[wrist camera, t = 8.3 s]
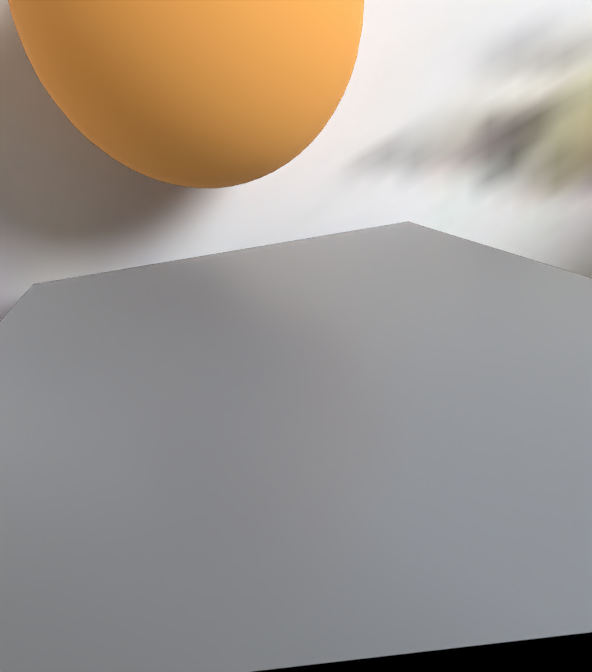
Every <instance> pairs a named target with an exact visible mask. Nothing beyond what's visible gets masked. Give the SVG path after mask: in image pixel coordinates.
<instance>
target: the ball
mask: <svg viewBox="0 0 592 672" xmlns="http://www.w3.org/2000/svg"><path fill="white" fill-rule="evenodd" d="M8 2H9V6H10V11H11V15H12V18H13V21H14V24H15V26H16V29H17V32H18V34H19V37H20V40H21V43H22V45H23V47H24V50H25V52H26V54H27V56H28V58H29V60H30V62H31V64H32V66H33V68H34V70H35V72H36V74H37V76H38V78H39V80H40V81H41V83H42V84H43V86H44V87H45V89H46V90H47V92H48V93H49V95H50V96H51V98H52V99H53V101H54V102H55V103H56V104H57V106H58V107H59V108H60V109H61V111H62V112H63V113H64V114H65V115H66V117H67V118H68V119H69V120H70V121H71V123H72V124H73V125H74V126H75V127H76V128H77V129H78V130H79V131H80V132H81V133H82V134H83V135H84V136H85V137H86V138H87V139H88V140H89V141H91V142H92V143H93V144H95V145H96V146H97V147H98V148H100V149H101V150H102V151H104V152H105V153H106V154H108V155H109V156H111V157H112V158H113V159H115V160H117V161H118V162H120V163H122V164H123V165H125V166H127V167H128V168H130V169H132V170H134V171H136V172H138V173H141V174H143V175H145V176H147V177H150V178H153V179H156V180H159V181H162V182H166V183H170V184H175V185H179V186H184V187H193V188H221V187H229V186H234V185H239V184H243V183H247V182H250V181H253V180H255V179H258V178H261V177H263V176H265V175H267V174H269V173H272V172H274V171H275V170H277V169H279V168H280V167H282V166H284V165H285V164H287V163H288V162H290V161H291V160H292V159H293V158H295V157H296V156H297V155H299V154H300V153H301V152H302V151H303V150H304V149H305V148H306V147H307V146H308V145H309V144H310V143H311V142H312V141H313V140H314V139H315V138H316V137H317V135H318V134H319V133H320V132H321V131H322V129H323V128H324V127H325V125H326V124H327V122H328V121H329V119H330V118H331V116H332V115H333V113H334V111H335V109H336V107H337V106H338V104H339V102H340V100H341V98H342V96H343V95H344V92H345V90H346V87H347V85H348V82H349V80H350V78H351V75H352V71H353V68H354V65H355V61H356V58H357V53H358V47H359V42H360V36H361V31H362V24H363V10H364V0H8Z"/></svg>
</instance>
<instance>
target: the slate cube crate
mask: <svg viewBox="0 0 592 672" xmlns="http://www.w3.org/2000/svg"><path fill="white" fill-rule="evenodd" d="M0 672H592V278H589V277H586V276H583V275H579V274H576V273H573V272H570V271H567V270H563V269H560V268H557V267H554V266H550V265H547V264H544V263H541V262H537V261H534V260H531V259H528V258H524V257H521V256H518V255H515V254H511V253H508V252H505V251H502V250H499V249H495V248H492V247H489V246H486V245H482V244H479V243H476V242H473V241H469V240H466V239H463V238H460V237H456V236H453V235H450V234H447V233H443V232H440V231H437V230H434V229H431V228H427V227H424V226H421V225H418V224H414V223H411V222H403V223H397V224H391V225H385V226H379V227H373V228H367V229H361V230H355V231H349V232H343V233H337V234H331V235H325V236H319V237H313V238H307V239H301V240H295V241H289V242H283V243H277V244H271V245H265V246H259V247H253V248H247V249H241V250H235V251H229V252H223V253H217V254H211V255H205V256H199V257H193V258H187V259H181V260H175V261H169V262H163V263H157V264H151V265H145V266H139V267H133V268H127V269H121V270H115V271H109V272H103V273H97V274H91V275H85V276H79V277H73V278H67V279H61V280H55V281H49V282H43V283H37V284H33V285H32V286H31V288H30V289H29V290H28V291H27V292H26V293H25V294H24V295H23V296H22V298H21V299H20V300H19V301H18V302H17V303H16V304H15V305H14V306H13V308H12V309H11V310H10V311H9V312H8V313H7V314H6V315H5V317H4V318H3V319H2V320H1V321H0Z"/></svg>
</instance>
